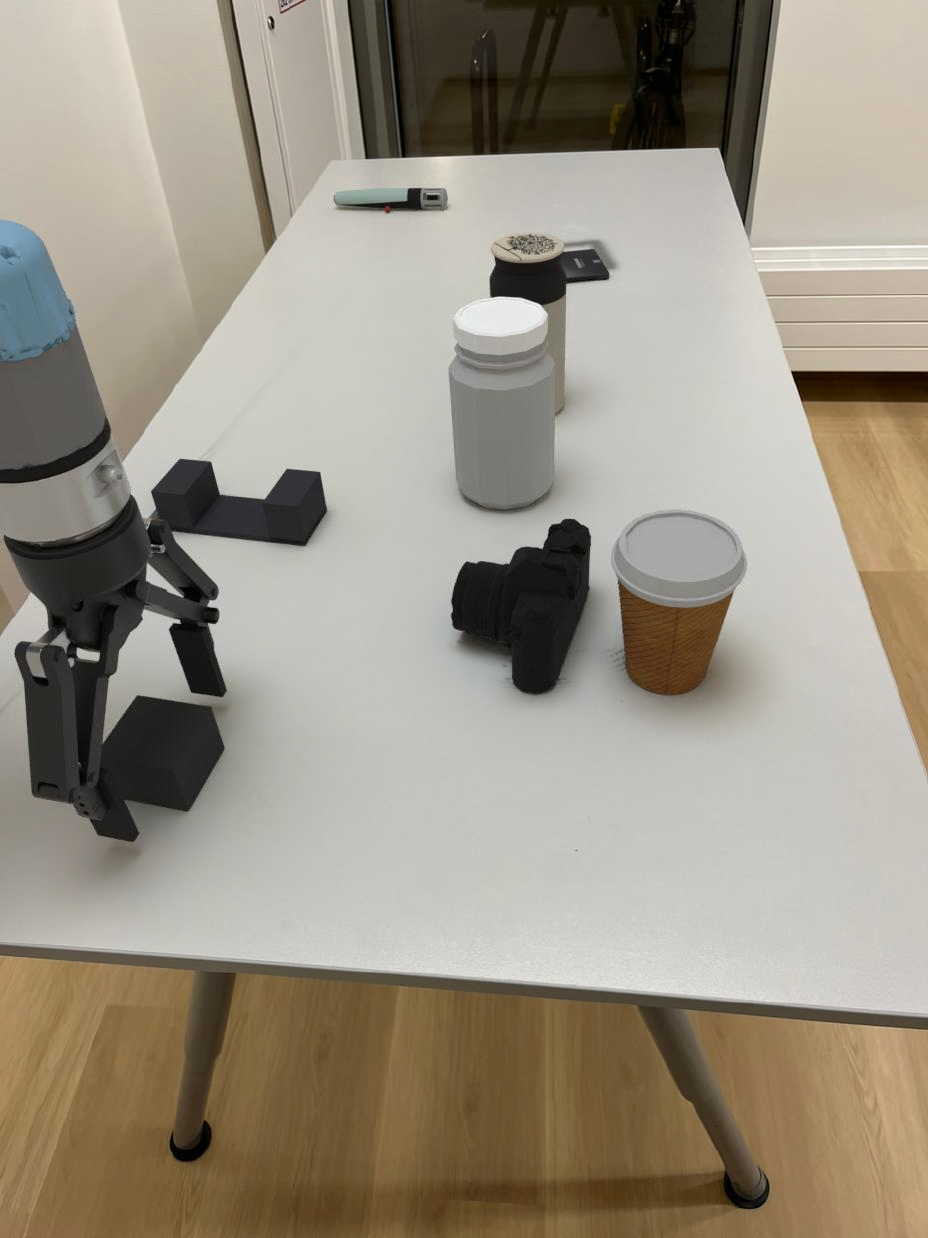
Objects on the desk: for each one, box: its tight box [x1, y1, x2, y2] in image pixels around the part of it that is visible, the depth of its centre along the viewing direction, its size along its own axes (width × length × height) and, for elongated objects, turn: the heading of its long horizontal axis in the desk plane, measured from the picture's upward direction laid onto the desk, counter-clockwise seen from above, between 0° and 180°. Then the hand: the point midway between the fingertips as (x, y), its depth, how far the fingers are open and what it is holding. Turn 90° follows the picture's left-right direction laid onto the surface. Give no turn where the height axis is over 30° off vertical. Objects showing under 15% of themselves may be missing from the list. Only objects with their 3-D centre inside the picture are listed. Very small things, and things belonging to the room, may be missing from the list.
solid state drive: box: [560, 248, 610, 283], centre depth 138 cm, size 7×10×1 cm
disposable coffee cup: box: [610, 509, 748, 695], centre depth 71 cm, size 10×10×12 cm
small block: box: [100, 694, 226, 812], centre depth 68 cm, size 6×6×4 cm
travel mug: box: [489, 232, 567, 414], centre depth 102 cm, size 8×8×18 cm
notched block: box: [150, 458, 328, 547], centre depth 92 cm, size 15×6×4 cm, turn 76°
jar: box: [448, 297, 556, 511], centre depth 90 cm, size 10×10×18 cm
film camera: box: [450, 518, 592, 695], centre depth 76 cm, size 15×10×9 cm, turn 161°
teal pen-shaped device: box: [333, 187, 449, 214], centre depth 162 cm, size 3×4×20 cm
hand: (167, 758), depth 68 cm, fingers open, 13 cm apart
